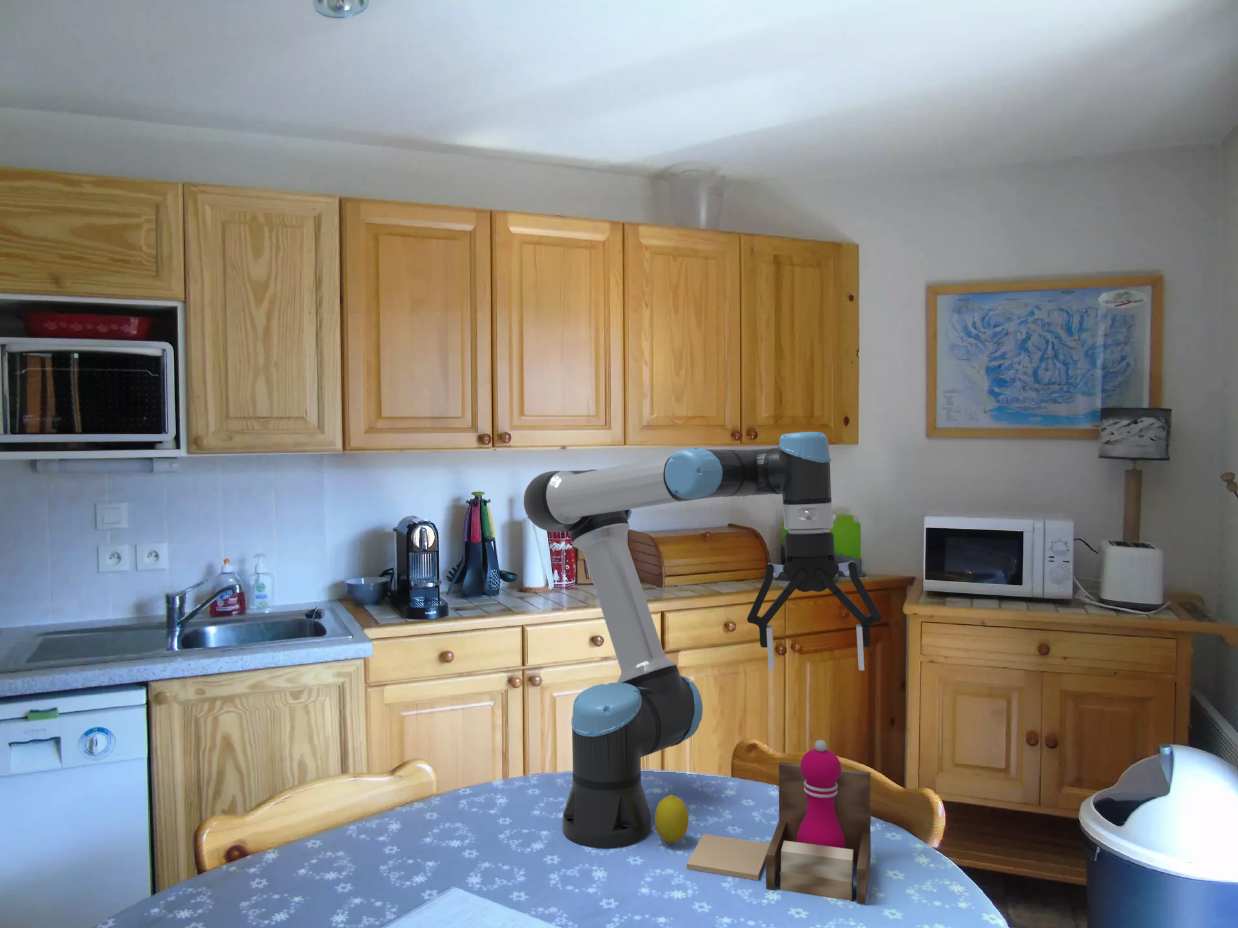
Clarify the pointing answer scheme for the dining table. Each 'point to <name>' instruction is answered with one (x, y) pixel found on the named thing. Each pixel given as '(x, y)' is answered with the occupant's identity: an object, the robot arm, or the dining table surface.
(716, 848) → the cork mat
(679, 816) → the lemon
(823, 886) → the offcut bottom
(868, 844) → the rack
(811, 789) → the pepper mill
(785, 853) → the offcut top
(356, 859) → the dining table surface
